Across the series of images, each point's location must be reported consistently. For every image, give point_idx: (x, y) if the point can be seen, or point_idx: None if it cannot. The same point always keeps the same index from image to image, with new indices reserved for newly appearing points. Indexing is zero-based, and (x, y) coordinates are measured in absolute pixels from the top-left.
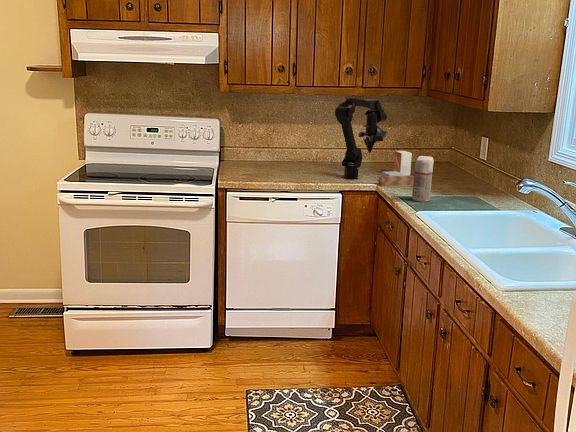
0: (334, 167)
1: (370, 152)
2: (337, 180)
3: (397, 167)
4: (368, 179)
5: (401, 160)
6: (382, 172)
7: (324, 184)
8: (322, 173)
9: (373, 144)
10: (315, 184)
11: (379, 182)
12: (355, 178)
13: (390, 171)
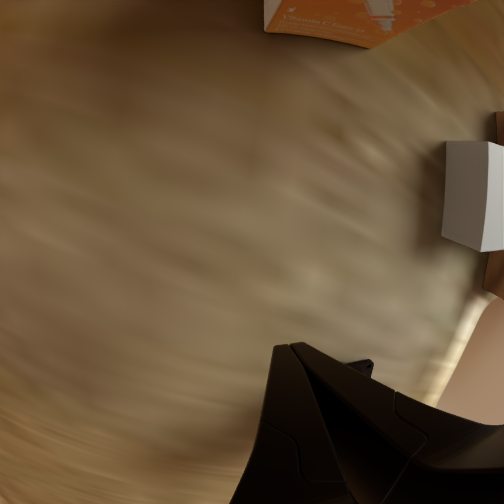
0: (3, 371)
1: (303, 347)
2: None
3: (361, 17)
4: (392, 303)
5: (454, 6)
6: (477, 250)
7: None
8: (182, 470)
9: (452, 426)
10: None
11: (492, 290)
12: (369, 376)
13: (487, 188)
